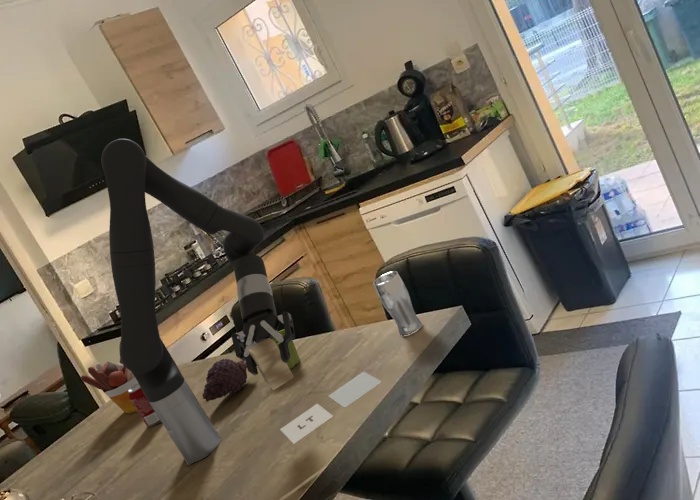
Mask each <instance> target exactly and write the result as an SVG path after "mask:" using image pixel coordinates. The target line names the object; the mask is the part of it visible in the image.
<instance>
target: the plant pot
mask: <svg viewBox="0 0 700 500" xmlns="http://www.w3.org/2000/svg"><path fill="white" fill-rule="evenodd" d="M277 331H278V332H279V333H280V334H281V335H282V336H284V335H285V329H281V330H277ZM272 340H274V341H275V343H276V345H277V347H278V348H279V344H280V343H279V341H278V340H276V339H275V338H274V337H273V339H272ZM294 343H295V342H294V340H291V341H290V342H289V343H288V347H289V352H290V359H289V362H287V365H288V367H289V369H290V370H291V369H293V368H295V365H297V364H299V363H300V361H301V358H300V356H299V354H298V351H297V348H296V346H295V344H294Z"/></svg>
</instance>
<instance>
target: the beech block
mask: <svg viewBox="0 0 700 500" xmlns="http://www.w3.org/2000/svg"><path fill="white" fill-rule="evenodd" d="M248 351H249V352H250V354H251V356H252V358H253V360H254V361H255V363H256V365H257V370H258V372H259V373H260V374H261V376H262V378H263V380H264V382H265V384H266V385H267V386H268V387H269V388H270V389H272V390H273V391H275V390H276V389H278V388H280V387H281V386H283V385H284V384H286V383H287V382H289V381H290V380H292V379H294V378H295V376H294V375H293V372H292V370H291V369H289V367H288V365H287V363H285V362H283V361H282V359H281V354H280V350H279V348H278V347H277V345H276V343H275V341H274V340H272V339H270V338H266V339H264V340H262V341H260V342H259V343H257V344H256V345H254V346H252V347H251V348H249V349H248Z"/></svg>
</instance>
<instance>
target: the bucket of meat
mask: <svg viewBox="0 0 700 500" xmlns="http://www.w3.org/2000/svg"><path fill="white" fill-rule="evenodd" d="M87 372H88V374H89V375H90V376H89V375H87V374H83V375H81V376H80V379H81V381H82V382H84V383H86V384H87V385H90V386H91V387H94V388H95V389H97V390H101V391H102V392H103V393H104V394H105V395H106V397H108V398H109V399H110V400H112V402H113V403H115V405H116V406H118V408H120V410H122V411H123V413H126V414H133V413H136V412H137V410H136V408H135V407H134V405H133V404H132V402H131V401H130V399H129V393H128V390H129V389H130V388H131V387H132V386H134V385H135V384H137V383H138V381H137V380H136V378H135V376H134V375H133V373H132V372H131V371H130V370H129V369H127V368H126V367H125V366H124V364H123V363H122V361H121V359H120V358H119V362H118V363H117V364H115V363H112V362H110V361H107V362H105V363H104V364H103V365H102V363H101V362H97V363H96V364H95V367H94V366H90V367H88V368H87ZM137 413H138V412H137Z"/></svg>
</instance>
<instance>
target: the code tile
mask: <svg viewBox="0 0 700 500" xmlns="http://www.w3.org/2000/svg"><path fill="white" fill-rule="evenodd" d="M333 417H334V415H333V414H331V412H329V411H327V410H326V409H325V408H324V407H322V406H321V405H320V404H319V403H315V404H314V405H313V406H312V407H310V408H309V409H307V410H306V411H304V412H302V413H301V414H300V415H299V416H297V417H296V418H294V419H292V420H291V421H290V422H288V423H287V424H286V425H284V426H283V427H281V428H279V430H280V432H281V433H283V434H284V436H285V437H287V439H288V440H289V441H290V442H291V443H292V444H293V445H295V444H296V443H298V442H299V441H301V440H302V439H303V438H304V437H306V436H307V435H308V434H310V433H312V432H313V431H314V430H316V429H317V428H319V427H320V426H322V425H323V424H325V423H326V422H327V421H328V420H330V419H331V418H333Z"/></svg>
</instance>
